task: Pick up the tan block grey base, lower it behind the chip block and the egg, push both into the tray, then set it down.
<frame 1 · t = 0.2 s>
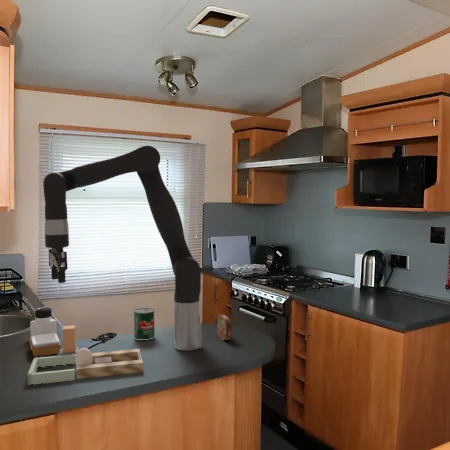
hand: (58, 280, 155), 27 cm above the worktop, fingers open, 8 cm apart
tan block grey base: (69, 358, 157), on the worktop
egg: (84, 370, 147), on the worktop
chip block: (103, 369, 148), on the worktop
medicine bottle: (44, 338, 181), on the worktop
tin: (223, 337, 181), on the worktop
canned tomato: (144, 338, 181), on the worktop
shallow wooden box: (109, 367, 149), on the worktop
soap dish: (45, 352, 165), on the worktop
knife: (94, 345, 174), on the worktop
tray: (53, 373, 144), on the worktop
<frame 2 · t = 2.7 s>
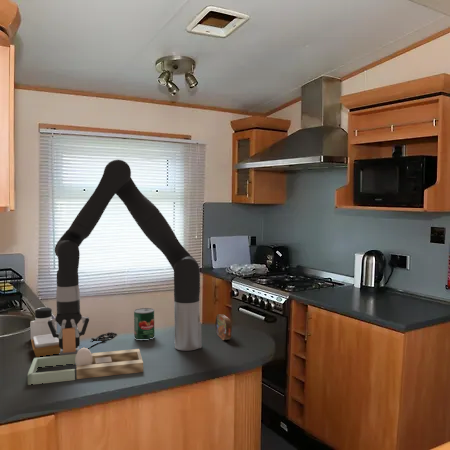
hand: (69, 347, 157), 4 cm above the worktop, fingers closed on tan block grey base, 4 cm apart
tan block grey base: (69, 358, 157), on the worktop, touching gripper
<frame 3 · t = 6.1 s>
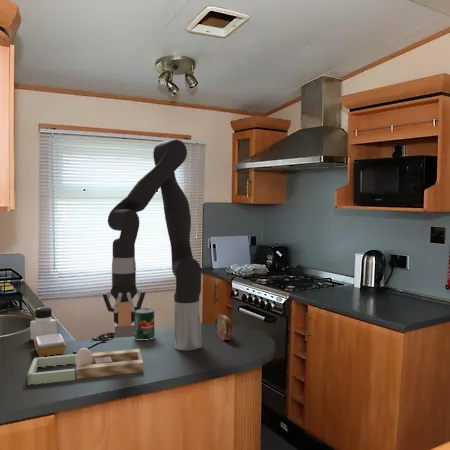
hand: (124, 323, 150), 14 cm above the worktop, fingers closed on tan block grey base, 4 cm apart
tan block grey base: (124, 334, 150), point 10 cm above the worktop, touching gripper
soap dish: (50, 353, 165), on the worktop
everything else where it was.
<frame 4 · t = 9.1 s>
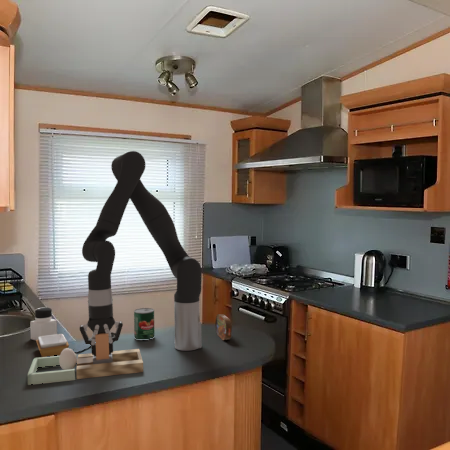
hand: (102, 354, 148), 4 cm above the worktop, fingers closed on tan block grey base, 4 cm apart
tan block grey base: (103, 366, 148), point 1 cm above the worktop, touching chip block, gripper
egg: (69, 371, 146), on the worktop, touching chip block
chip block: (85, 369, 147), on the worktop, touching egg, tan block grey base
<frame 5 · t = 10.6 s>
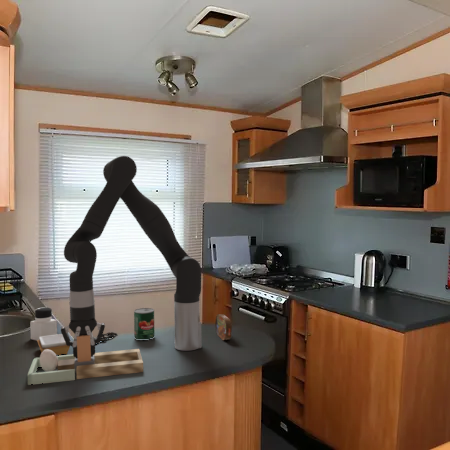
hand: (84, 356, 147), 4 cm above the worktop, fingers closed on tan block grey base, 4 cm apart
tan block grey base: (84, 368, 147), point 1 cm above the worktop, touching chip block, gripper
egg: (52, 372, 145), on the worktop, touching chip block
chip block: (66, 371, 146), on the worktop, touching egg, tan block grey base
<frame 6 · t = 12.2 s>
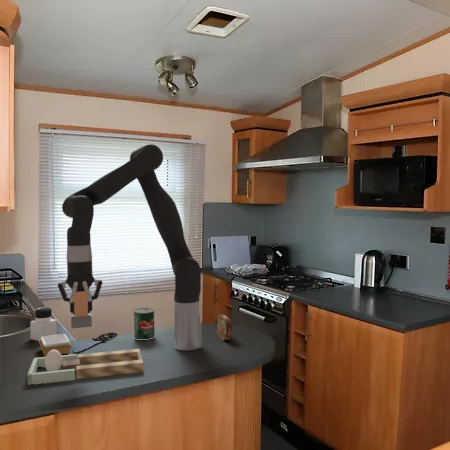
hand: (81, 313, 146), 19 cm above the worktop, fingers closed on tan block grey base, 4 cm apart
tan block grey base: (81, 325, 146), point 15 cm above the worktop, touching gripper
egg: (54, 373, 145), on the worktop
chip block: (71, 371, 146), on the worktop
when the fingers open (5 cm above the worktop, at t = 15.7 s): tan block grey base drops 2 cm, point 1 cm above the worktop.
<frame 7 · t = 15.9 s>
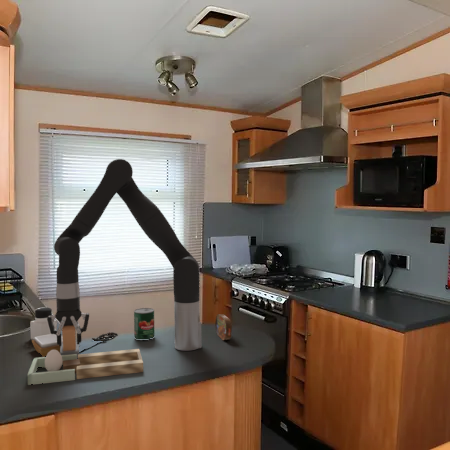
hand: (69, 344, 157), 5 cm above the worktop, fingers open, 5 cm apart
tan block grey base: (70, 354, 160), point 1 cm above the worktop, tilted 18°
soap dish: (50, 352, 165), on the worktop
everything else where it was.
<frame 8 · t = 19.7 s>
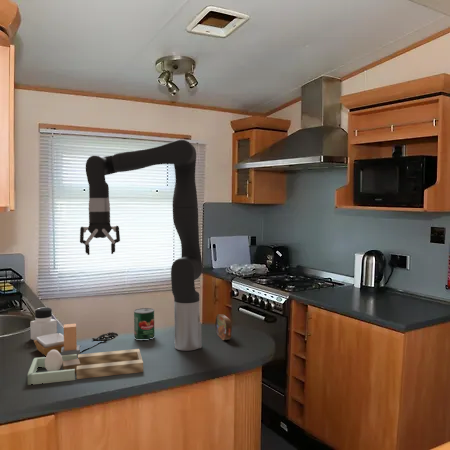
hand: (100, 254, 171), 34 cm above the worktop, fingers open, 8 cm apart
tan block grey base: (70, 356, 159), on the worktop
at the end: egg inside the target area (0.6 cm from its centre), on the worktop; chip block inside the target area (5.6 cm from its centre), on the worktop; the gripper is holding nothing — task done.
